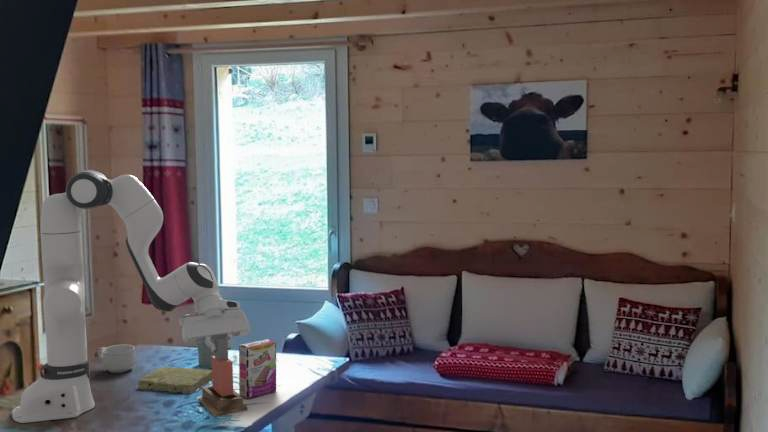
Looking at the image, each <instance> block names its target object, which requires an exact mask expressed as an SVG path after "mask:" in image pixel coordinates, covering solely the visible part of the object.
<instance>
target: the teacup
mask: <svg viewBox="0 0 768 432" xmlns="http://www.w3.org/2000/svg"><path fill="white" fill-rule="evenodd" d="M135 349H136V348H135V345H133V344H126V343H125V344H124V343H123V344H114V345H110V346H107V347H105V346H104V347H103V346H102V347H100V348H98V351H97V355H98V356H99V358H100V360H102V361H103V363H102V364H103V367H104V368H105V370H106V371H108V372H110V373H111V374H122V373H125V372H128V371H129V370H131V369H132V368H133V366H134V365H135V363H136V361H135V360H136V353H135V351H136V350H135Z"/></svg>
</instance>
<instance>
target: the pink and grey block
mask: <svg viewBox="0 0 768 432" xmlns="http://www.w3.org/2000/svg"><path fill="white" fill-rule="evenodd" d="M228 342H229V340H228V339H226V338H217V339H215V344H216V345H217V352H215V356H211V360H212V367H211V370H212V380H211V386H212V388H213V389H214V390H215V391H216V392H217V393H218V394H220V395H221V396H222V397H223V396H228V395H233V390H234V374H233V373H234V371H233V361H232V360H231V359H230V358H229V350H228Z"/></svg>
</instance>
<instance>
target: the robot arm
mask: <svg viewBox="0 0 768 432" xmlns="http://www.w3.org/2000/svg"><path fill="white" fill-rule="evenodd" d="M105 205H109V206H111V207H112V208H113V209H114V211H115V212H116V213H117V214H118V215H119V217H120V218H121V220H122V221H123V224H124V225H125V227H126V233H127V235H126V238H125V245H126V248H127V251H128V253H129V255H130V258H131V260H132V262H133V265H134V266H135V268H136V270H137V272H138V274H139V276H140V279H141V281H142V283H143V284H144V287H145V290H146V292H147V297H148V299H149V301H150V303H151V304H152V306H153V308H155V309H156V310H159V311H161V312H172V311H173V310H175V309H176V308H178V307H179V306H180V305H181V304H183V303H184V302H186V301H188V300H189V299H192V300H193V303H194V304H193V307H194V311H195V313H193V312H192V313H189V314H187V313H186V314H182V315H181V316H179V318H178V325H179V327H180V328H181V335H182V340H183V342H184V343H186V344H193V343H197V342H202V341H205V344H206V345H207V346H209V347H210V348H211V352H217V345H216V344H213V343H212V342H211V340H215V339H217V338H226V339H228V351H229V350H232V348H233V345H232V340H233V338H235V337H243V336H247V335H248V333H249V331H250V328H251V324H250V321H249V319H248V317H247V314H246V313H245V312H244V311H243V310H242V309H241V303H240V302H239V301H233V300H229V299H228V300H227V299H224V298H223V297H222V295H221V294H220V287H219V283H218V280H217V278H216V275H215V274H214V272H213V270H212V268H211V267H210V266H209V265H207V264H205V263H197V262H194V261H193V262H192V261H189V262H186V263H184V264H183V265H181V266H179V267H178V268H176V269H175V270H173V271H172V272H170V273H168V274H166V275H164V276H163V277H160V276H159V274H158V272H157V270H156V267H155V265H154V264H153V260H152V259H151V257H150V255H149V248H150V245H151V243H152V242H153V240H154V239H155V238H156V237H157V235H158V234H159V232H160V230H161V228H162V226H163V222H164V214H163V213H164V212H163V210H162V208H161V205H159V204H158V202H157V200H156V199H155V197H154V196H153V195H152V193H151V192H150V191H149V189H147V187H146V186H145V185H144V184H143V183H142V182H141V181H140V180H139V179H138V178H137V177H136V176H135V175H133V174H121V175H119V176H117V177H115V178H113V179H109V177H108V176H107V175H106V173H104V172H102V171H100V170H97V169H83V170H81V171H80V170H79V171H78V172H77V173H75V174H74V175H72V176H71V177H70V178H69V179H68V181H67V183H66V186H65V192H62V193H54V194H51V195H48V196H47V197H46V198H45V199H44V200H43V202H42V206H41V213H40V247H41V248H40V249H41V261H42V269H43V270H42V271H43V279H44V295H43V298H42V306H43V308H42V309H43V321H44V333H45V343H46V362H45V363H42V362H39V363H38V364H37V365H36V368H37V370H38V372H39V376H40V377H38V378H37V379H36V380H35V381H34V382H33V383H31V384H30V385H28V386H27V388H25V389H24V390H23V392H22V393H21V397H20V400H19V401H20V402H19V405H18V406H16V407H14V408H13V409H12V411H11V418H12V419H13V421H15V422H17V423H20V424H25V423H34V422H35V423H36V422H43V421H52V420H63V419H70V418H71V419H72V418H77V417H79V416H81V415H82V414H83V413H86V412H88V411H90V410H92V409H93V408H95V405H96V403H95V400H94V397H93V393H92V390H91V385H90V384H91V383H90V376H91V369H90V368H91V367H90V366H91V365H90V360H89V358H88V342H87V325H86V324H87V323H86V305H85V304H86V303H85V301H86V299H85V298H86V287H85V286H86V285H85V272H84V271H85V270H84V269H85V268H84V254H83V252H84V251H83V237H82V236H83V234H82V233H83V231H82V214H83V212H84V211H85V210H90V209H95V208H99V207H102V206H105Z"/></svg>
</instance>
